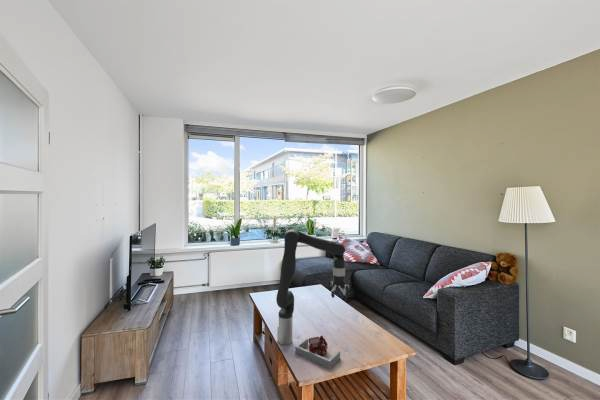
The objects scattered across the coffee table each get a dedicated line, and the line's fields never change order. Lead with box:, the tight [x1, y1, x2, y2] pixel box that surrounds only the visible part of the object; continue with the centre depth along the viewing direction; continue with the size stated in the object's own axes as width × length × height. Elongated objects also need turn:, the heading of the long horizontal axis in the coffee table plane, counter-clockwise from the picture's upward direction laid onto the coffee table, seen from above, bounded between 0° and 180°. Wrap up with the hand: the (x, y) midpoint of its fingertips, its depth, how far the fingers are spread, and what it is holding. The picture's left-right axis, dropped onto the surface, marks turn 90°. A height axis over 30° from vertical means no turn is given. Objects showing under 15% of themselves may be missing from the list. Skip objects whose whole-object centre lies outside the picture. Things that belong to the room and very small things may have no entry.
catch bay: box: [294, 338, 341, 369], centre depth 167 cm, size 25×12×4 cm, turn 53°
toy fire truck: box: [308, 335, 328, 357], centre depth 170 cm, size 7×12×10 cm, turn 110°
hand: (338, 298), depth 178 cm, fingers open, 8 cm apart
